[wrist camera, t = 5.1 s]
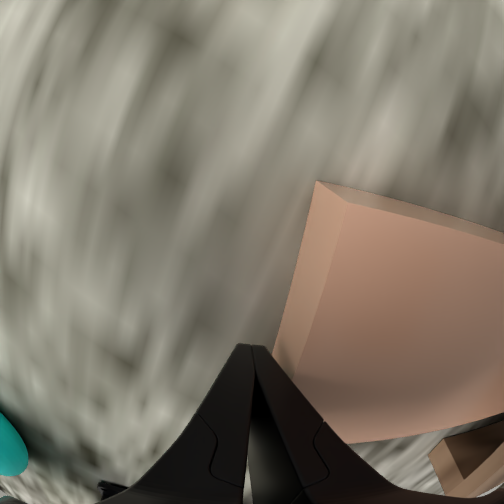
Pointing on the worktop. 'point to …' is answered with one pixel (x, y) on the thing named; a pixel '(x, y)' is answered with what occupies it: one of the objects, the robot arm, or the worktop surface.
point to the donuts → (11, 450)
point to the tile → (394, 317)
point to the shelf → (470, 461)
